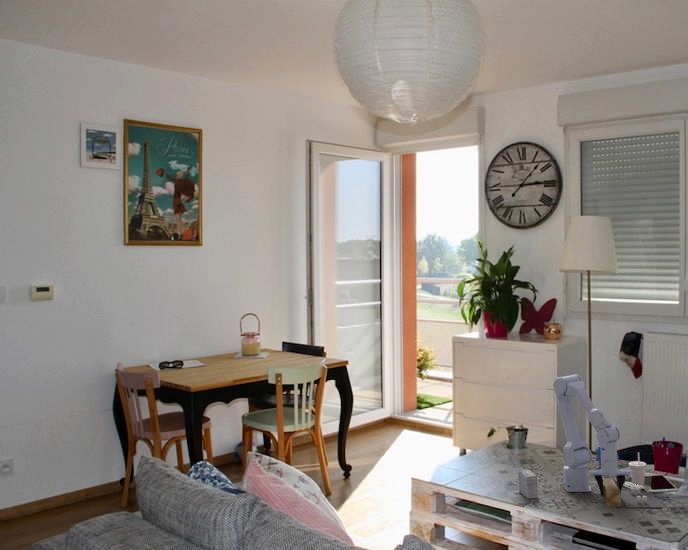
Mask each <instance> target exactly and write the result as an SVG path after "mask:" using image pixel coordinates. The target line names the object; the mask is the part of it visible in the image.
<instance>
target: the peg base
mask: <svg viewBox="0 0 688 550" xmlns="http://www.w3.org/2000/svg"><path fill="white" fill-rule="evenodd" d="M645 492H646V491H641V490H640V488H636V489H635V488H633V487H630V491H621V494H620V501H622V503H623V504H624V506H625V507H626V509H663V506H662V504H660V502H659V501H658V499H657V498H656V497H655V495H653V493H652V492H651V493H645Z"/></svg>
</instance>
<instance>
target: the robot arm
mask: <svg viewBox="0 0 688 550" xmlns="http://www.w3.org/2000/svg"><path fill="white" fill-rule="evenodd" d="M552 385H553V390H554V393H555V399H556V403H557V407H558V412H559V416H560V420H561V422H562V423H561V424H562V427H563V431H564V434H565V438H566V444H565V445H564V446H563V448H562V449H563V460H564V462H565V464H566V465H564V466H563V467H562V476H563V477H562V480H563V482H562V483H563V487H564V489H565V491H566V492H568V493H575V492H577V493H578V492H579V493H580V492H581V493H583V492H584V493H585V492H586V493H587V492H590V493H591V492H592V488H591V486H590V479H589V477H590V478H593V477H594V479H595V480H596V483H597V486H598V489H599V491H600V492H599V493H600V496H601V497H602V496H604V492H603V480H604V479H603V477H615V478H616V479H615V480H616V485H617V487H618V488H619V490H620V494H621V492H622V489H623V486H624V484H625V482H626V480H627V478H626V477H628V478H629V477H630V478H631V472H630V469H621V468H620V469H619V468H618V460H617V454H618V448H617V447H618V446H617V441H619V439H620V435H621V433H620V431H619V429H618V427H617V426H616V425H614V424H612V423H610V422H609V420H608V418H607V417H606V416H605V415H604V412H603V411H602V410H601V409H599V408H596V407H595V405H594V403H593V401H592V399H591V397H590V395H589V394H588V392H587V391H586V389H585V382H584V380H583V379H582V376H580V375H579V374H578V373H577V374H576V373H575V374H571V375H565V376H558V377H556V378H555V379H554V382H553V384H552ZM573 398H575V399H576V400H577V401H578V402H579V403H580V405H581V406H582V407H583V409H584V410H585V411H586V413H587V415H586V419H587V420H588V421H589V422H590V425H592V427H593V429H594V431H595V432H596V434H595V437H596V440H597V441H598V446H600V451H601V467H600V469H590V470H589V466H590V463H592V460H593V454H592V451H591V449H590V448H589V444H588V443H587V442H585V441H584V440H582V436H581V433H580V428H579V425H578V422H577V421H578V420H577V418H576V414H575V409H574V407H573V402H572V399H573Z"/></svg>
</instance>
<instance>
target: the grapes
mask: <svg viewBox="0 0 688 550" xmlns="http://www.w3.org/2000/svg"><path fill="white" fill-rule="evenodd" d="M598 446H599V445H598ZM595 453H596V455H595V458H594V459H595V461H596V462H598V466H599V467H600V468H601V451H600V446H599V447H596V448H595ZM619 458H620V456H619V454H618V453H617V461H618V460H619Z"/></svg>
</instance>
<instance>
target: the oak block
mask: <svg viewBox="0 0 688 550" xmlns="http://www.w3.org/2000/svg"><path fill="white" fill-rule="evenodd" d="M603 492H604V496H601V498H602V499H603V501H604V502H605V504H606V506H607V507H621V505H622V504H621V498H620V490H619V488H618V487H617V483H616V482H615V481H614V479H603Z"/></svg>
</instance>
